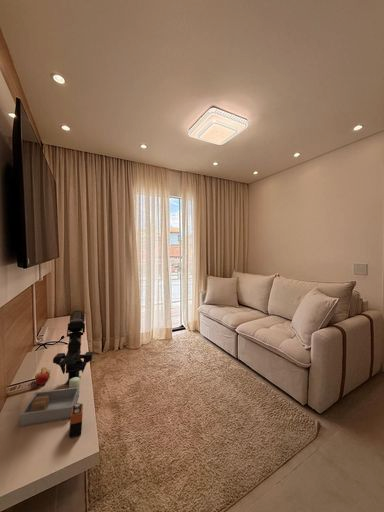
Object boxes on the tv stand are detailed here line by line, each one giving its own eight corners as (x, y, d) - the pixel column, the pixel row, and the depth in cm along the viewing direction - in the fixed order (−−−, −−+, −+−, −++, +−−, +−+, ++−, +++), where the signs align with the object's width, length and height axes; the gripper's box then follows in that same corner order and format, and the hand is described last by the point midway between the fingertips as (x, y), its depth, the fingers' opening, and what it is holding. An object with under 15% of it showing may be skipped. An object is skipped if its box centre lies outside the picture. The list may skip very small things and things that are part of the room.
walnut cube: (36, 407, 100) (36, 397, 100) (48, 405, 101) (48, 395, 101) (31, 415, 95) (32, 404, 95) (44, 413, 96) (44, 402, 96)
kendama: (34, 376, 129) (31, 387, 114) (37, 365, 130) (35, 374, 115) (49, 375, 133) (48, 386, 118) (52, 364, 134) (51, 373, 119)
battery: (82, 423, 92) (83, 400, 92) (81, 435, 86) (82, 410, 86) (70, 426, 90) (71, 403, 90) (69, 439, 84) (70, 413, 84)
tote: (35, 402, 104) (36, 392, 104) (79, 396, 110) (79, 386, 110) (19, 426, 89) (20, 414, 89) (71, 418, 95) (71, 407, 95)
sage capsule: (70, 390, 114) (70, 377, 114) (80, 389, 116) (80, 376, 116) (67, 396, 109) (68, 382, 110) (78, 394, 111) (78, 381, 111)
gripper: (48, 351, 102) (47, 383, 102) (89, 349, 107) (88, 380, 106) (58, 342, 113) (56, 371, 113) (94, 341, 117) (93, 368, 117)
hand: (73, 373), depth 112 cm, fingers open, 9 cm apart
